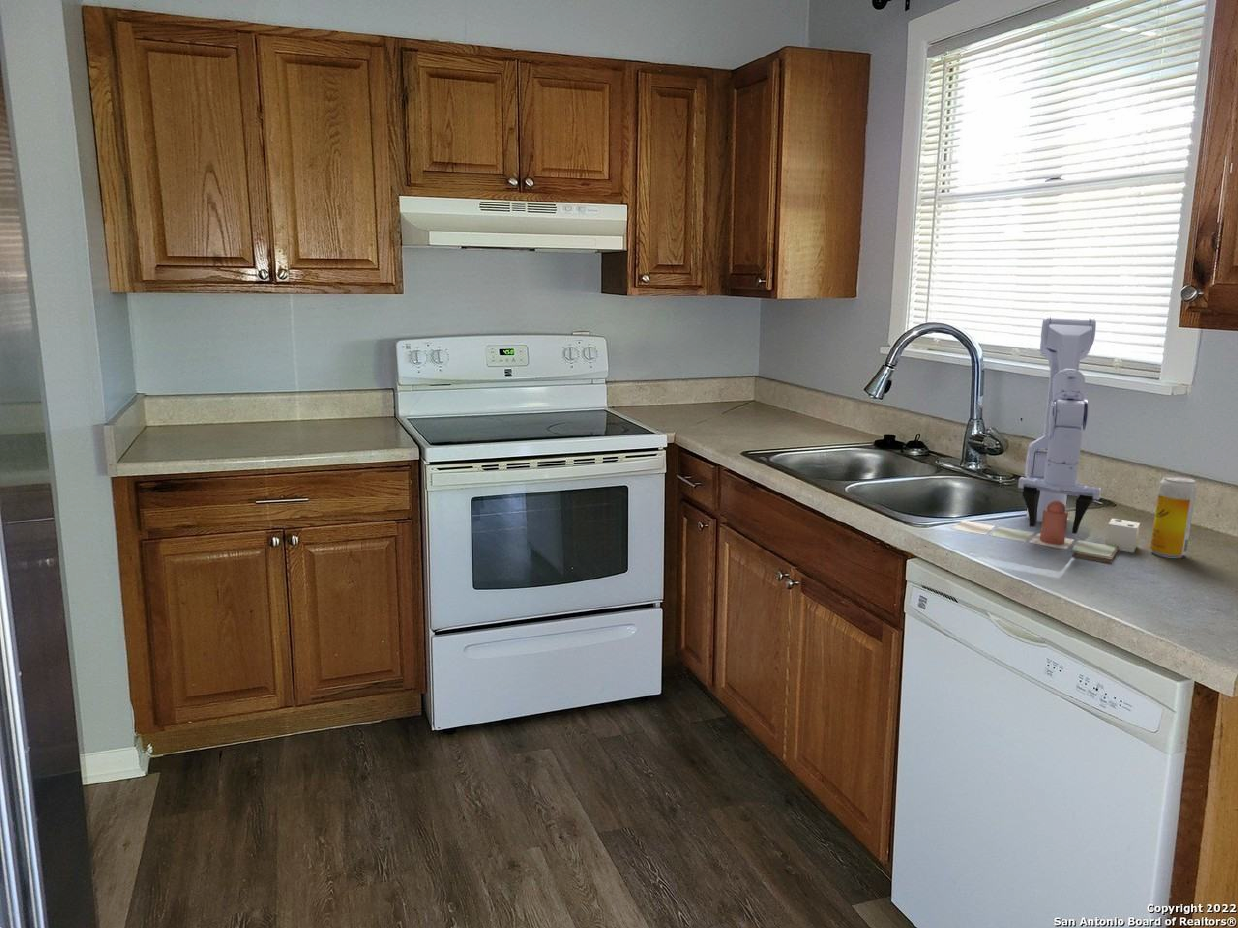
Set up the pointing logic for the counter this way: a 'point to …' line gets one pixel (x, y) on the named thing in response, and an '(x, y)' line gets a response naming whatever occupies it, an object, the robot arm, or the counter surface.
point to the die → (1123, 534)
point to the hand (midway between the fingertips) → (1053, 528)
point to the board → (1081, 547)
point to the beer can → (1173, 516)
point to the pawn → (1054, 523)
